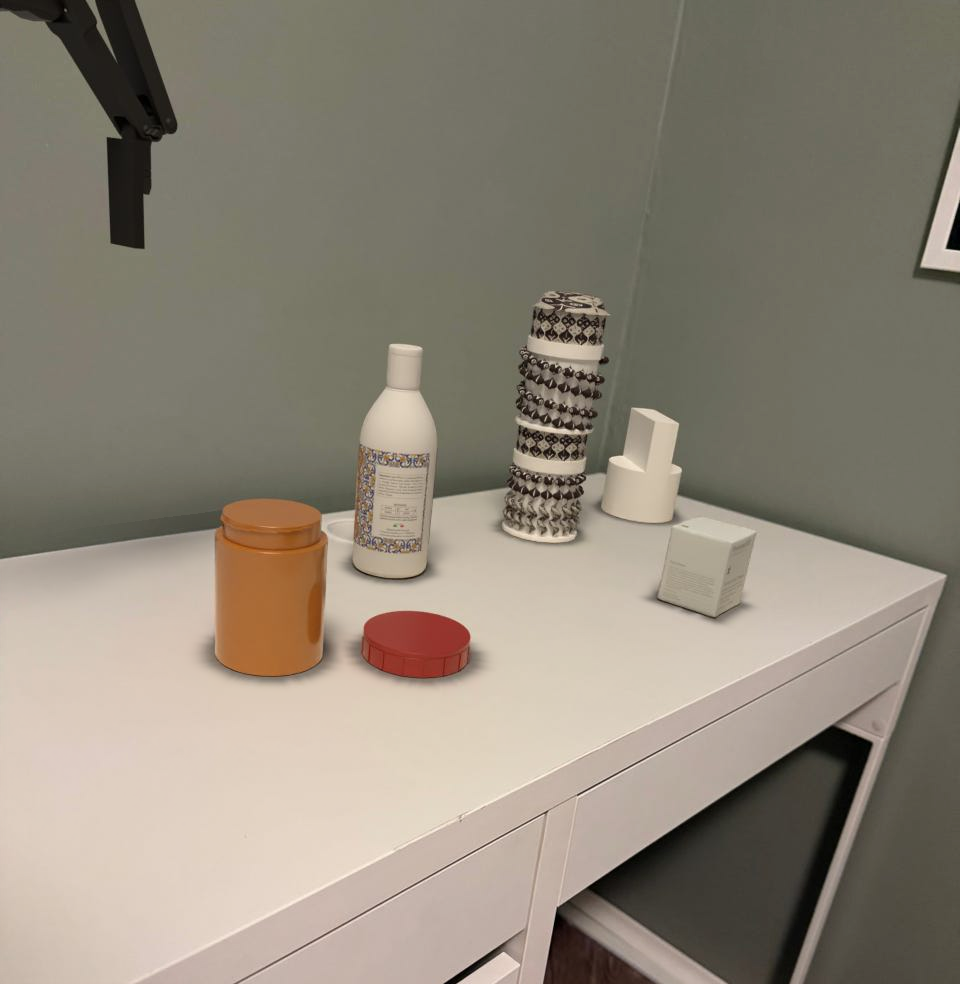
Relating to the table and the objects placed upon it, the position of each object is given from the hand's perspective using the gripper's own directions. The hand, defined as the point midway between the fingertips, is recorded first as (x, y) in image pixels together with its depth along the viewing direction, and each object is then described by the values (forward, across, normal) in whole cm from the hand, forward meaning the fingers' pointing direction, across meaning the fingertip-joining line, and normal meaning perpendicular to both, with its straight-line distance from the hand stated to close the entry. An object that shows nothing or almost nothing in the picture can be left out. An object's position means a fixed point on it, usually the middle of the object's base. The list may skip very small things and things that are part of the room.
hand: (33, 241), depth 58 cm
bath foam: (+26, +28, -8) cm, 39 cm away
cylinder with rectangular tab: (+26, +69, -14) cm, 75 cm away
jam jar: (+26, +7, -15) cm, 30 cm away
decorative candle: (+26, +51, -11) cm, 58 cm away
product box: (+26, +45, -32) cm, 61 cm away
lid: (+24, +15, -22) cm, 36 cm away
